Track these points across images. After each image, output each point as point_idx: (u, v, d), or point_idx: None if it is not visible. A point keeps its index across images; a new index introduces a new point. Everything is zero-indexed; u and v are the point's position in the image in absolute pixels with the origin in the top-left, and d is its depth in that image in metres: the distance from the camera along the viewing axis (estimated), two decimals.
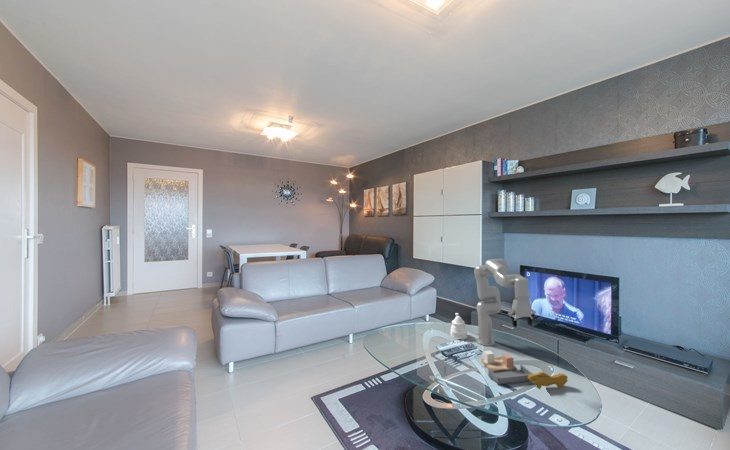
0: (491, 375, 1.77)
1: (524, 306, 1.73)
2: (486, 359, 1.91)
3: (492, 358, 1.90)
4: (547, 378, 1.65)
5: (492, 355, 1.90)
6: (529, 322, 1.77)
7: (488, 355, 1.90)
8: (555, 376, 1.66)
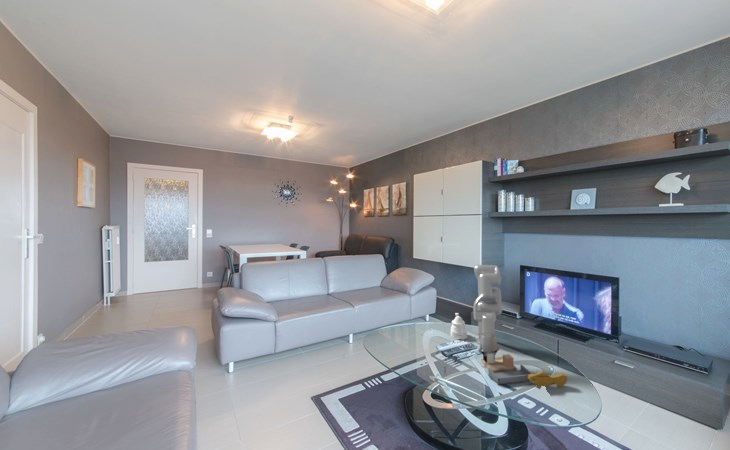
0: (491, 375, 1.77)
1: (490, 342, 1.89)
2: None
3: (492, 358, 1.90)
4: (547, 378, 1.65)
5: (492, 355, 1.90)
6: None
7: (488, 355, 1.90)
8: (555, 376, 1.66)
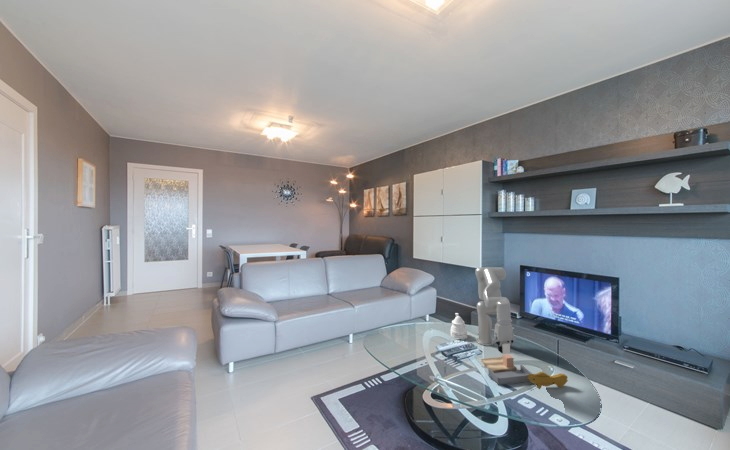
0: (491, 375, 1.77)
1: (506, 330, 1.72)
2: None
3: (508, 348, 1.73)
4: (547, 378, 1.65)
5: (508, 345, 1.73)
6: None
7: (504, 345, 1.72)
8: (555, 376, 1.66)
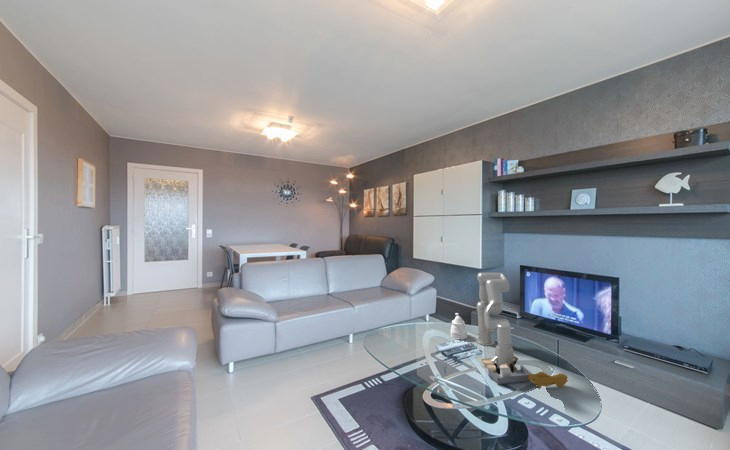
0: (491, 375, 1.77)
1: (506, 353, 1.73)
2: (502, 375, 1.75)
3: (508, 373, 1.74)
4: (547, 378, 1.65)
5: (509, 370, 1.74)
6: (511, 369, 1.76)
7: (505, 370, 1.73)
8: (555, 376, 1.66)
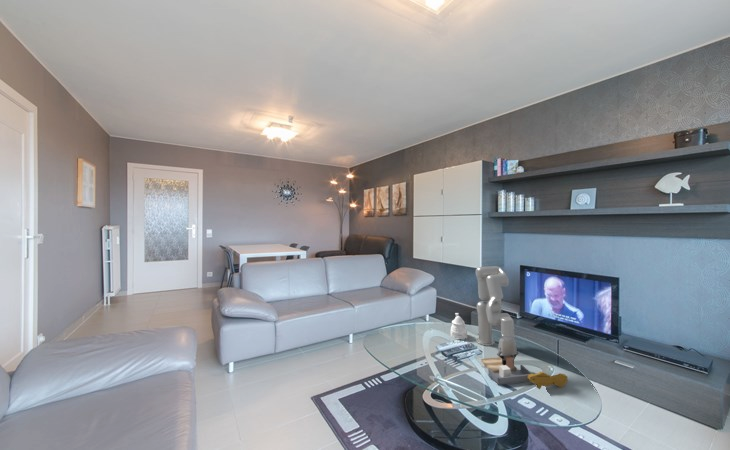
0: (491, 375, 1.77)
1: (509, 345, 1.83)
2: (502, 375, 1.75)
3: (508, 373, 1.74)
4: (547, 378, 1.65)
5: (509, 370, 1.74)
6: None
7: (505, 370, 1.73)
8: (555, 376, 1.66)
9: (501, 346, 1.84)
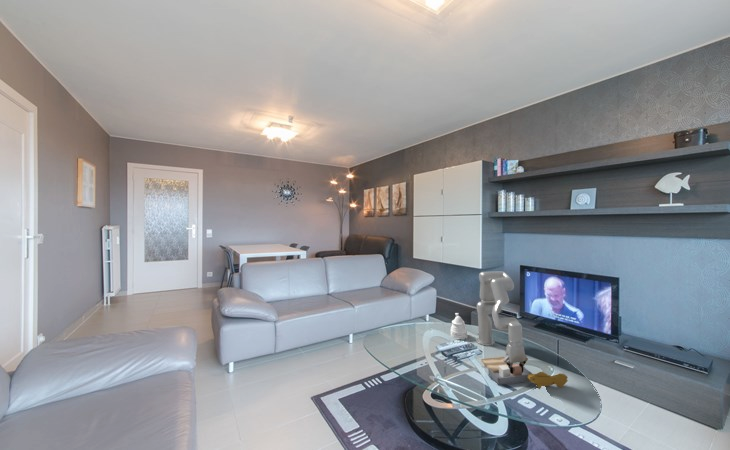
0: (491, 375, 1.77)
1: (518, 352, 1.73)
2: (502, 375, 1.75)
3: (508, 373, 1.74)
4: (547, 378, 1.65)
5: (508, 370, 1.74)
6: None
7: (504, 370, 1.73)
8: (555, 376, 1.66)
9: (509, 352, 1.74)
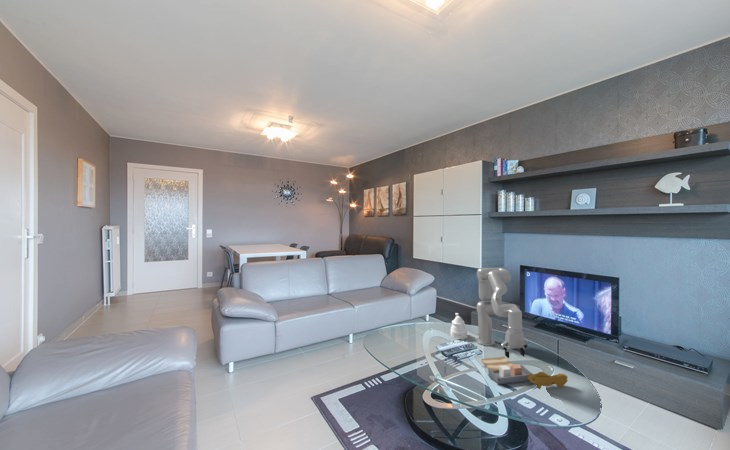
0: (491, 375, 1.77)
1: (517, 338, 1.73)
2: (502, 375, 1.75)
3: (508, 373, 1.74)
4: (547, 378, 1.65)
5: (509, 371, 1.74)
6: (522, 353, 1.77)
7: (505, 370, 1.73)
8: (555, 376, 1.66)
9: (508, 339, 1.74)
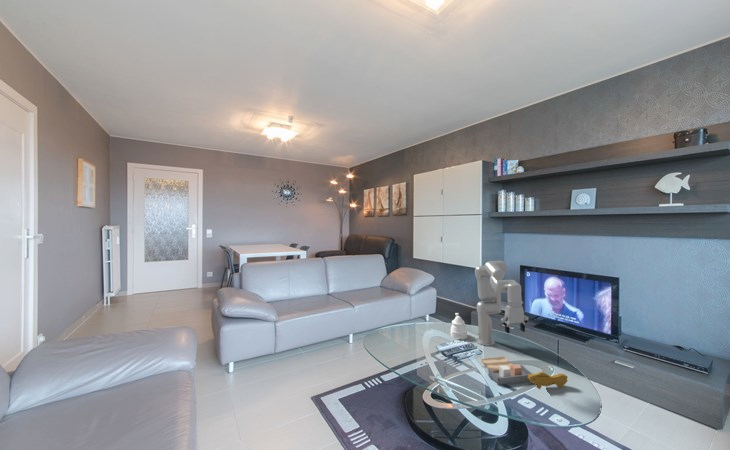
0: (491, 375, 1.77)
1: (517, 312, 1.72)
2: (502, 375, 1.75)
3: (508, 373, 1.74)
4: (547, 378, 1.65)
5: (509, 371, 1.74)
6: (522, 328, 1.75)
7: (505, 370, 1.73)
8: (555, 376, 1.66)
9: (508, 313, 1.73)
